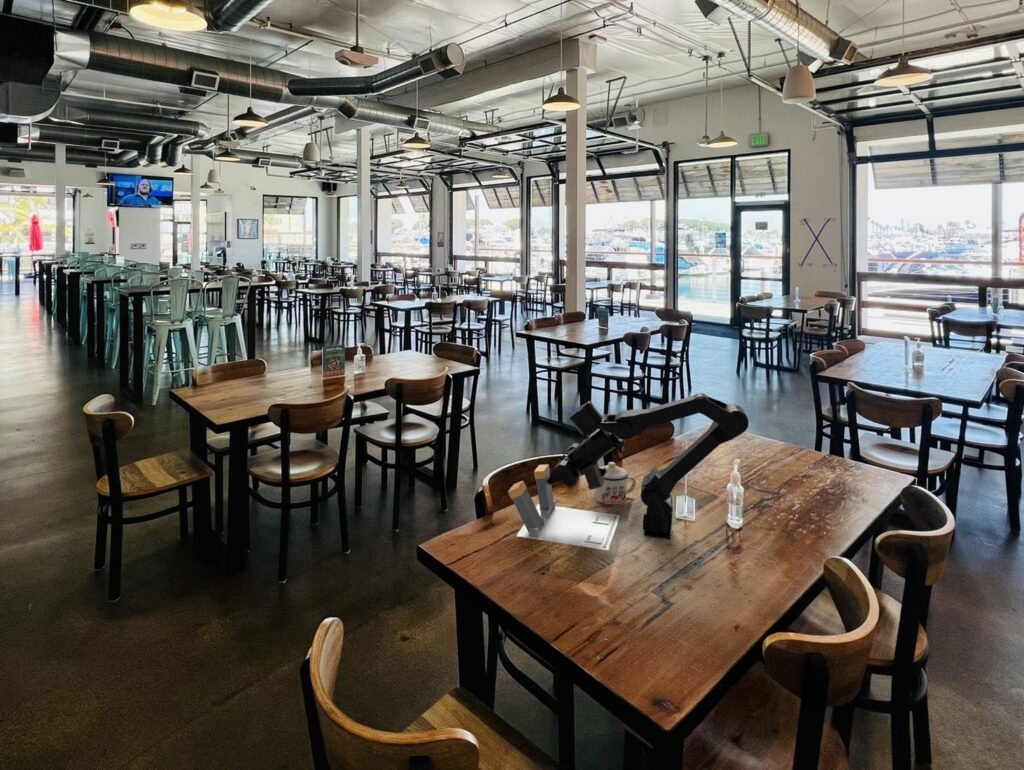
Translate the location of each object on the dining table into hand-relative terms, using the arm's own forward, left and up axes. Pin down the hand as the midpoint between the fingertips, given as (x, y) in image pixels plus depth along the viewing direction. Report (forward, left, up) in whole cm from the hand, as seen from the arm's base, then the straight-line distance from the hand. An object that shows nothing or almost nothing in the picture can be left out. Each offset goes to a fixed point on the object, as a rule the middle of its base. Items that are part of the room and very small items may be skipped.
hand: (548, 482), depth 165 cm
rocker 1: (0, +11, -8) cm, 13 cm away
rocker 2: (0, 0, -8) cm, 8 cm away
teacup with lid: (-15, -16, -10) cm, 24 cm away
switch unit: (-7, +5, -10) cm, 13 cm away
